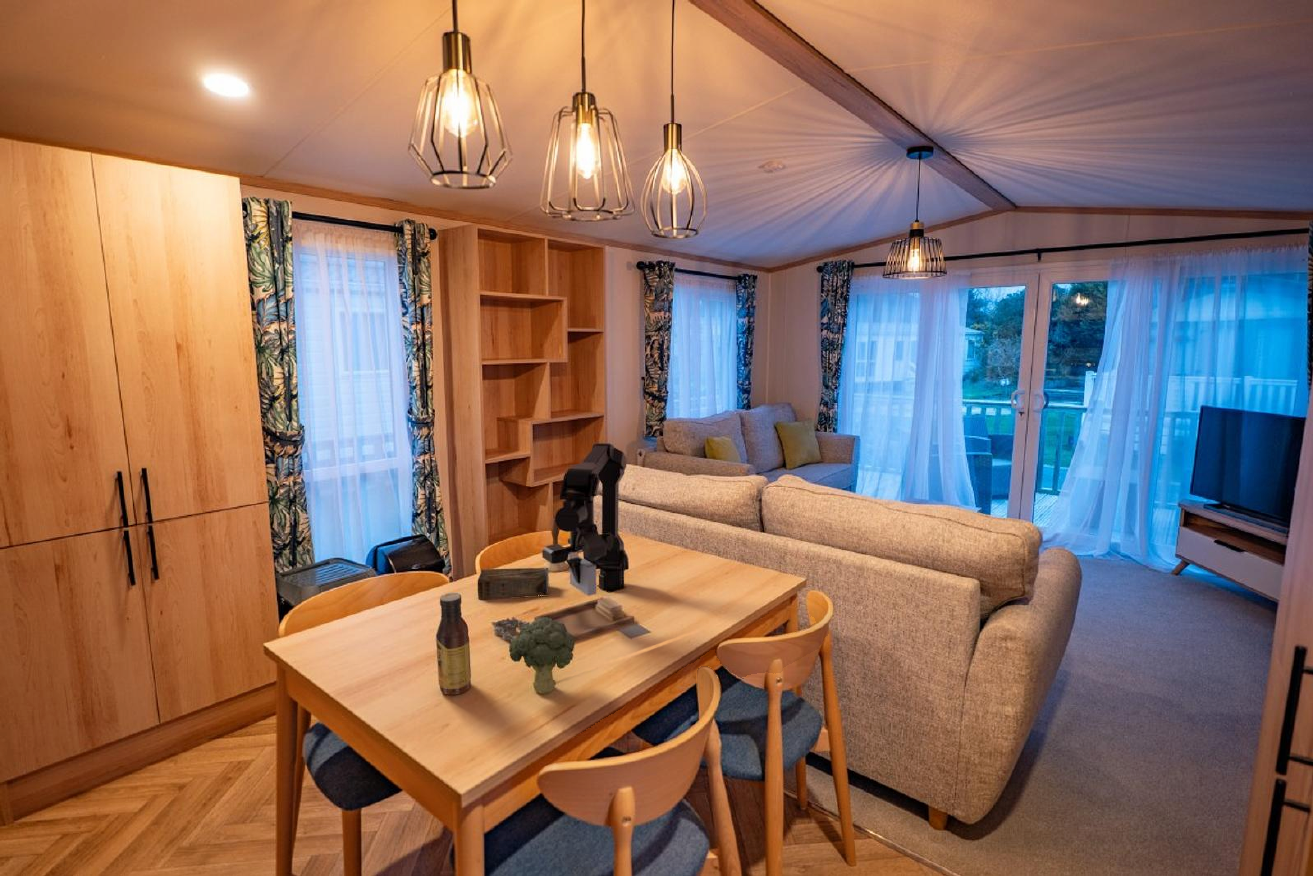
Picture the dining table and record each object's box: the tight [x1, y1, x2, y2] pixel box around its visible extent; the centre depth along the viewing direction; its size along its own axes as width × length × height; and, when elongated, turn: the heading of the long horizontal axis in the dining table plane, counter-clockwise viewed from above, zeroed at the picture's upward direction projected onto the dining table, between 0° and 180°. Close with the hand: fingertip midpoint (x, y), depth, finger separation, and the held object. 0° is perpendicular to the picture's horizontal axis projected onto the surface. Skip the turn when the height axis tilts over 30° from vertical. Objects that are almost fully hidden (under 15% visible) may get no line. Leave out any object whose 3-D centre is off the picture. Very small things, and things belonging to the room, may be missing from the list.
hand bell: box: [541, 517, 570, 573], centre depth 191 cm, size 8×8×16 cm
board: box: [569, 555, 597, 597], centre depth 149 cm, size 2×9×7 cm, turn 36°
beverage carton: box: [477, 567, 550, 600], centre depth 172 cm, size 8×19×7 cm, turn 97°
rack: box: [533, 597, 635, 642], centre depth 153 cm, size 20×15×2 cm
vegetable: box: [508, 617, 575, 695], centre depth 122 cm, size 12×13×15 cm
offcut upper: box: [598, 597, 623, 614], centre depth 157 cm, size 4×6×2 cm, turn 37°
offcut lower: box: [596, 604, 625, 621], centre depth 158 cm, size 4×8×2 cm, turn 37°
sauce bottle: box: [435, 592, 472, 696], centre depth 122 cm, size 6×6×20 cm
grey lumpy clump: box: [491, 616, 532, 643], centre depth 146 cm, size 11×8×4 cm
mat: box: [616, 622, 652, 640], centre depth 148 cm, size 6×6×1 cm
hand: (582, 581), depth 149 cm, fingers closed on board, 2 cm apart
